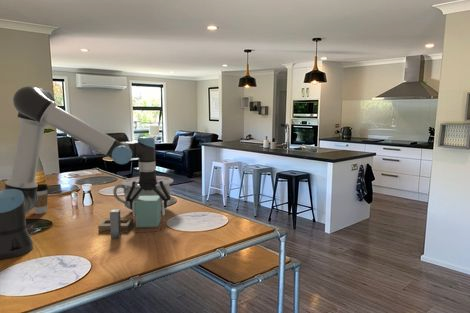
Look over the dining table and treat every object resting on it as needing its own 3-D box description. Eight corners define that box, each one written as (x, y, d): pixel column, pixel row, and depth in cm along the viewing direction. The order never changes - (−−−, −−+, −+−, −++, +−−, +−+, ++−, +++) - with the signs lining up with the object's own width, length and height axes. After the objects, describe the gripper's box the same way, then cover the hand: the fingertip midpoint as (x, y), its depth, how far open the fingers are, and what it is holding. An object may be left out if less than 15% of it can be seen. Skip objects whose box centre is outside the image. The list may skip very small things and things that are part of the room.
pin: (119, 238, 144) (117, 211, 142) (111, 239, 143) (109, 211, 142) (121, 235, 147) (120, 209, 145) (113, 236, 147) (112, 209, 145)
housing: (157, 226, 153) (157, 201, 151) (136, 227, 152) (135, 201, 151) (160, 219, 163) (160, 195, 161) (140, 219, 162) (140, 195, 161)
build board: (128, 231, 152) (127, 225, 152) (98, 232, 151) (98, 226, 151) (133, 223, 163) (133, 217, 162) (106, 224, 162) (105, 218, 161)
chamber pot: (182, 206, 193) (181, 170, 190) (159, 221, 166) (158, 180, 164) (139, 202, 200) (138, 168, 197) (110, 216, 174) (108, 177, 171)
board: (159, 231, 153) (158, 209, 152) (134, 231, 152) (133, 210, 151) (162, 223, 164) (162, 203, 162) (139, 223, 163) (139, 203, 162)
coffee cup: (41, 215, 175) (39, 187, 173) (27, 214, 177) (25, 186, 175) (53, 210, 183) (51, 183, 181) (40, 209, 185) (37, 182, 183)
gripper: (175, 168, 159) (176, 211, 162) (121, 169, 157) (123, 213, 160) (173, 171, 151) (175, 216, 154) (117, 172, 150) (119, 218, 153)
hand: (149, 215), depth 157 cm, fingers open, 13 cm apart
